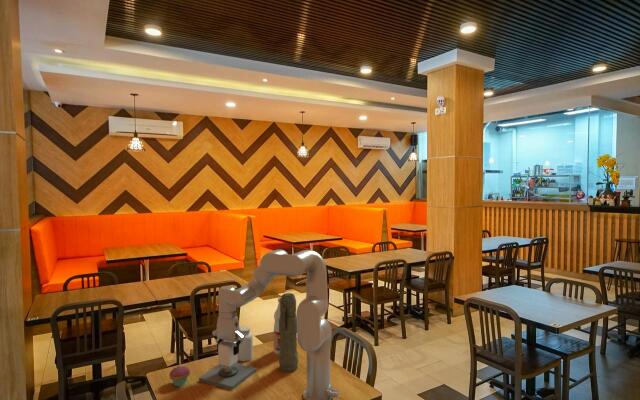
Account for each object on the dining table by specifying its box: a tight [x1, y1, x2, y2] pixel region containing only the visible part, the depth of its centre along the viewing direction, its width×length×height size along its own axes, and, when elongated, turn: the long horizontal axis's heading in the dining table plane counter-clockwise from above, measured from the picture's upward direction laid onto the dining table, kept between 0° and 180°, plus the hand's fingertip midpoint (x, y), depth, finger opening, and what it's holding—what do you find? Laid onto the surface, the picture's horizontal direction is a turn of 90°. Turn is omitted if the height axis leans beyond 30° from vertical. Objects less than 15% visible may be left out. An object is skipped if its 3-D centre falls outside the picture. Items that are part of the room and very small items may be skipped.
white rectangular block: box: [217, 340, 239, 368], centre depth 176 cm, size 6×6×10 cm
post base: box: [198, 363, 257, 391], centre depth 176 cm, size 18×18×12 cm
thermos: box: [278, 292, 299, 373], centre depth 183 cm, size 9×12×35 cm
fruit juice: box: [273, 297, 281, 356], centre depth 200 cm, size 9×9×28 cm
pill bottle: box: [238, 326, 254, 362], centre depth 194 cm, size 8×8×15 cm
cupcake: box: [169, 354, 191, 387], centre depth 169 cm, size 9×8×12 cm
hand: (228, 352), depth 176 cm, fingers open, 8 cm apart
